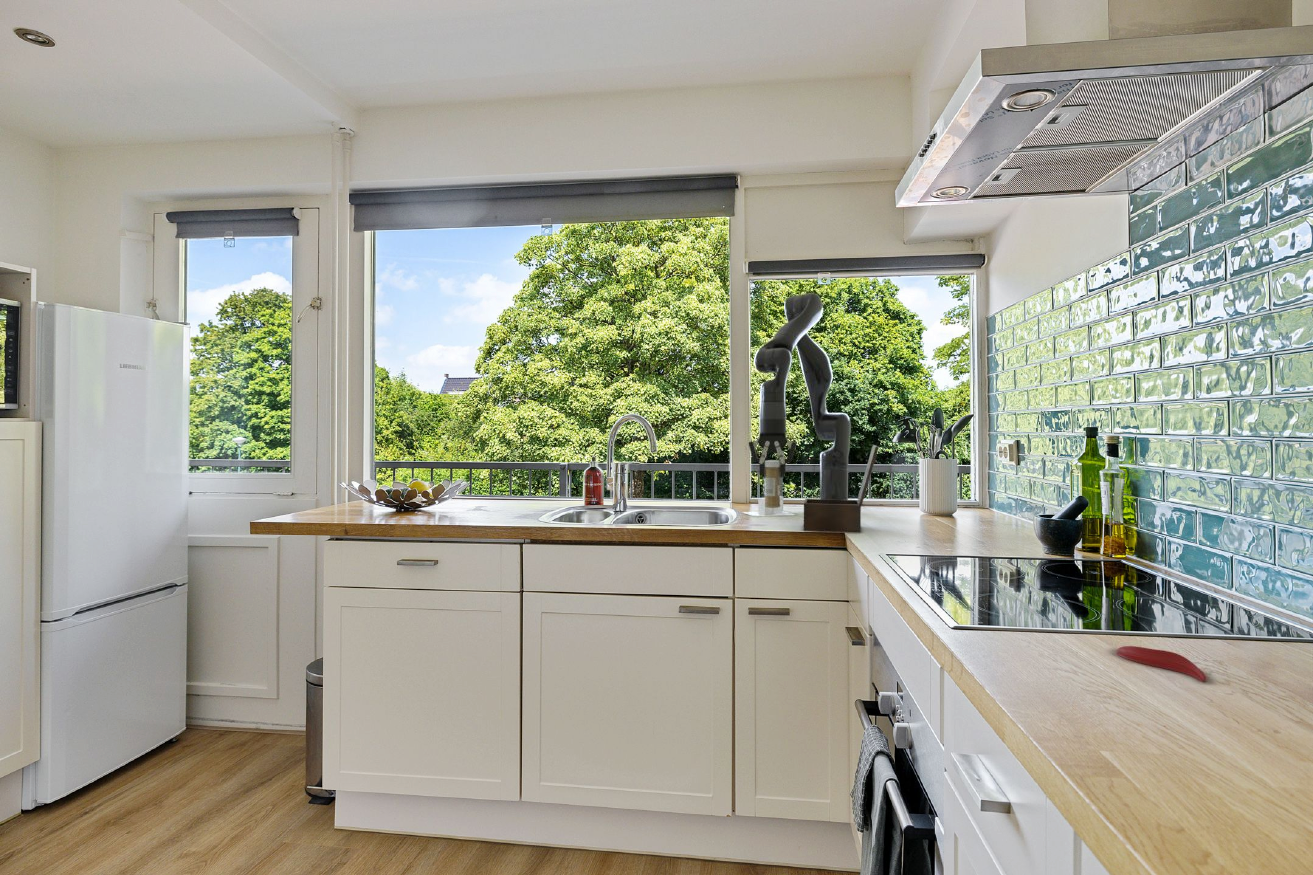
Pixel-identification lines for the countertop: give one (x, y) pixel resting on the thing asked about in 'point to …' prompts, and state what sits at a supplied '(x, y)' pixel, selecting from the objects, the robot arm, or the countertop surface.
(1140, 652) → the cayenne pepper
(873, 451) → the chest lid
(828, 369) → the robot arm
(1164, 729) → the countertop surface
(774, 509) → the napkin holder
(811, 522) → the chest
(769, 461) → the sprinkles bottle
